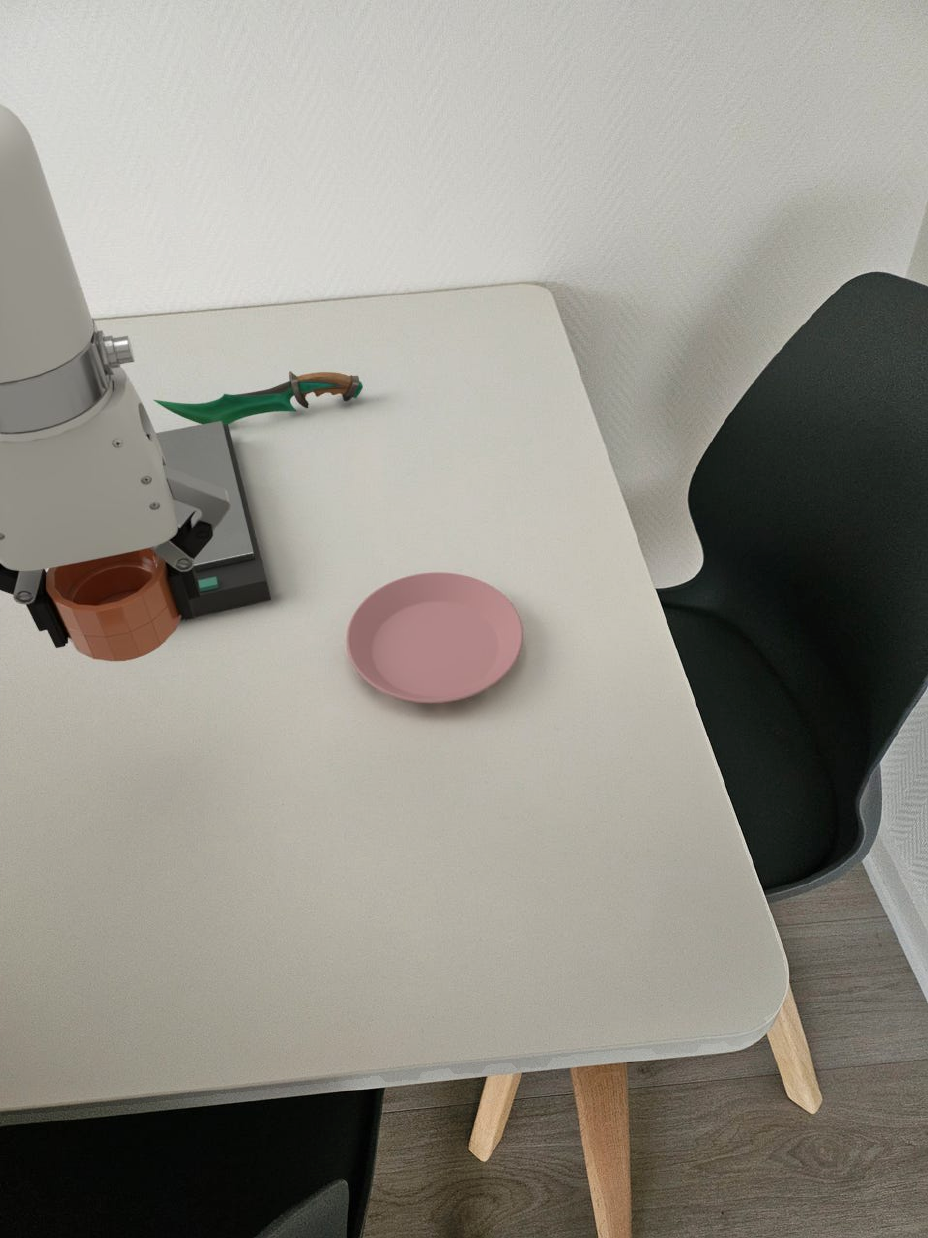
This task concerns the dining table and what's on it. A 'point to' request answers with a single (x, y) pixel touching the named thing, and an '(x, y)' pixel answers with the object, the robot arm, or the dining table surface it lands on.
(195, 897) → the dining table surface
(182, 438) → the scale
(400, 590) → the plate
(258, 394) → the knife
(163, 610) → the bowl
